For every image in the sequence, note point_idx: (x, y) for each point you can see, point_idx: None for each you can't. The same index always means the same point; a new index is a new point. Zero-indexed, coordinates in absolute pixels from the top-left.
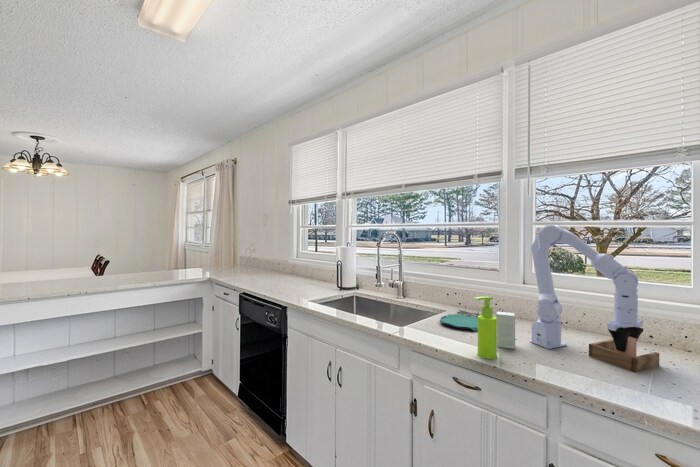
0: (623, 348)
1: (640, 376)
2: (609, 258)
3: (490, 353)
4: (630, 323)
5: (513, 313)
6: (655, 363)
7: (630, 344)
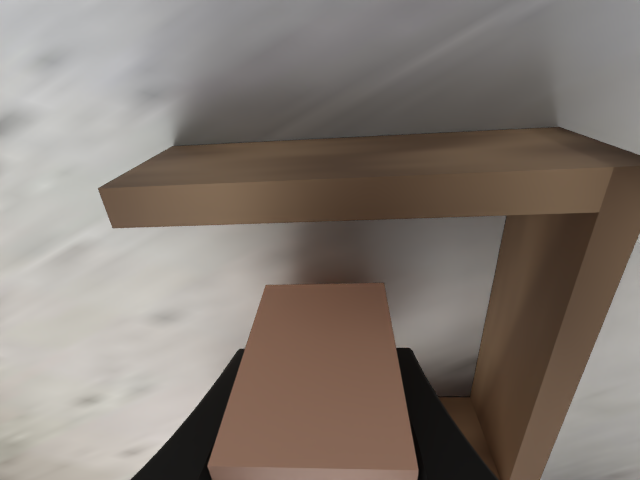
0: (423, 378)
1: (629, 46)
2: None
3: None
4: None
5: None
6: (222, 151)
7: (365, 398)
